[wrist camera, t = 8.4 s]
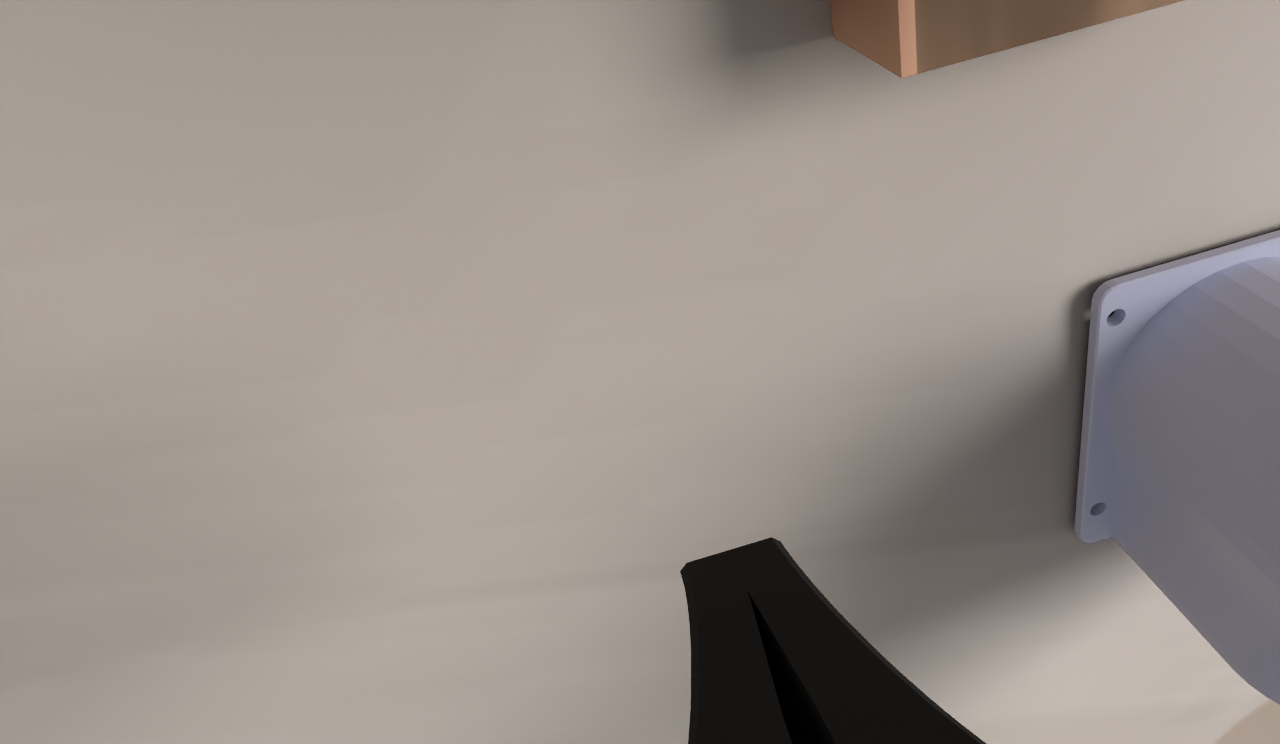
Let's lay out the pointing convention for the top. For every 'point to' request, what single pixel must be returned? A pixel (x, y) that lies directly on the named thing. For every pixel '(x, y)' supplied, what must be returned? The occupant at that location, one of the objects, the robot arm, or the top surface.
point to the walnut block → (963, 26)
